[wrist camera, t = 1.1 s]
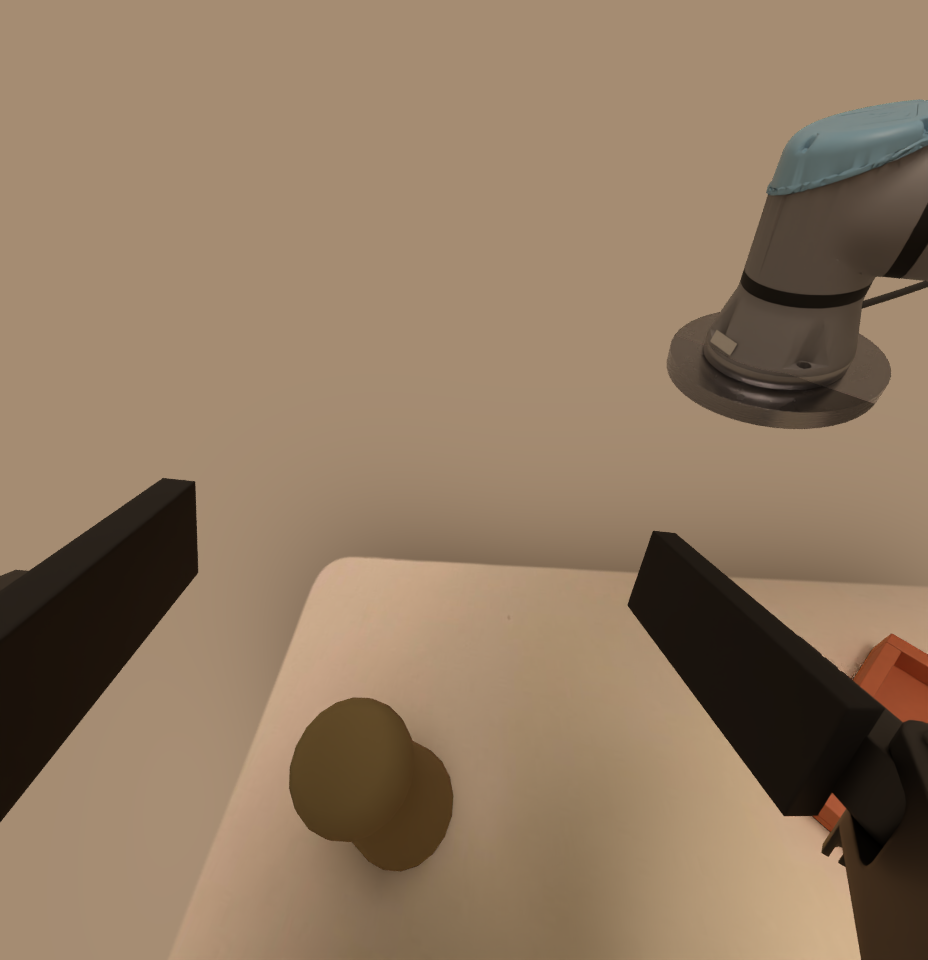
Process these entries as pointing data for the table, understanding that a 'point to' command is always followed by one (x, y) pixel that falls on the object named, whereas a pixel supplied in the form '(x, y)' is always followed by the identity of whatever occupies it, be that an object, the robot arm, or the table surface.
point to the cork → (371, 784)
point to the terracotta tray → (889, 694)
